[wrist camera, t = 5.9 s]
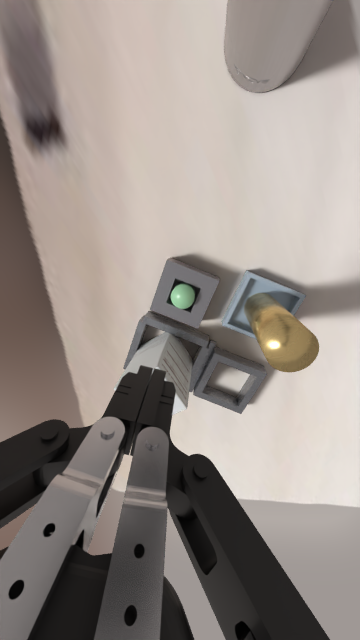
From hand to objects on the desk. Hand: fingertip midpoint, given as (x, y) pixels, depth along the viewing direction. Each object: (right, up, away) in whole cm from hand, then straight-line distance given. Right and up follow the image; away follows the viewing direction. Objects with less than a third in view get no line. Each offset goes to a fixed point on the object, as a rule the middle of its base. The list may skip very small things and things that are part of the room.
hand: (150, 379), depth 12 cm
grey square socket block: (+3, +8, +23) cm, 25 cm away
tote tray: (+14, +5, +23) cm, 27 cm away
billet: (+14, +5, +22) cm, 27 cm away
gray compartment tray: (+5, -5, +28) cm, 28 cm away
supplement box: (-1, -2, +28) cm, 28 cm away
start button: (+2, +8, +22) cm, 23 cm away
